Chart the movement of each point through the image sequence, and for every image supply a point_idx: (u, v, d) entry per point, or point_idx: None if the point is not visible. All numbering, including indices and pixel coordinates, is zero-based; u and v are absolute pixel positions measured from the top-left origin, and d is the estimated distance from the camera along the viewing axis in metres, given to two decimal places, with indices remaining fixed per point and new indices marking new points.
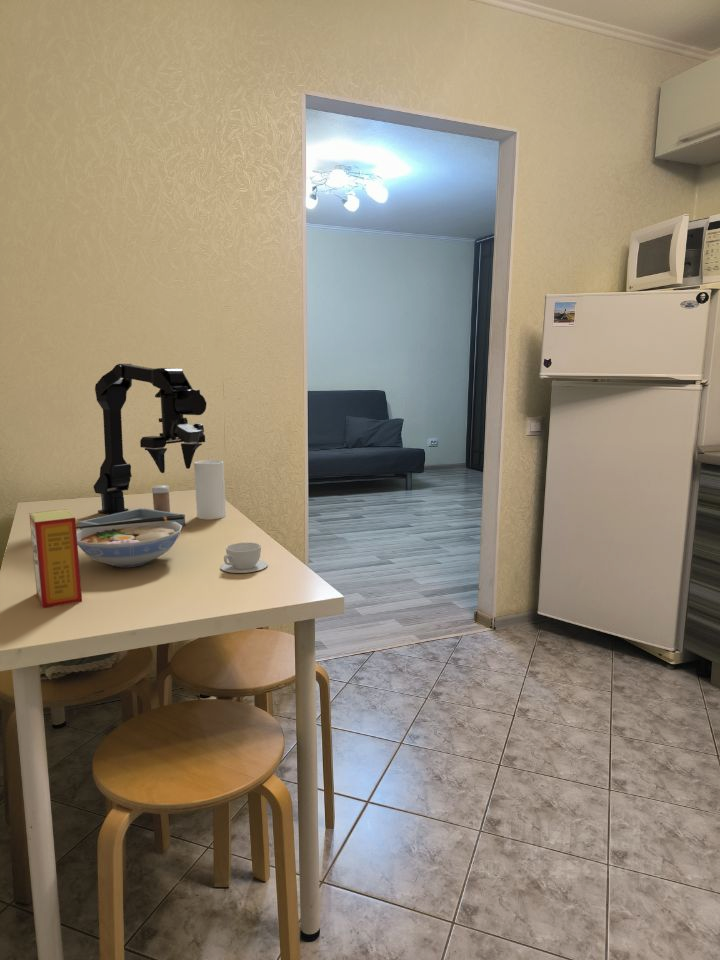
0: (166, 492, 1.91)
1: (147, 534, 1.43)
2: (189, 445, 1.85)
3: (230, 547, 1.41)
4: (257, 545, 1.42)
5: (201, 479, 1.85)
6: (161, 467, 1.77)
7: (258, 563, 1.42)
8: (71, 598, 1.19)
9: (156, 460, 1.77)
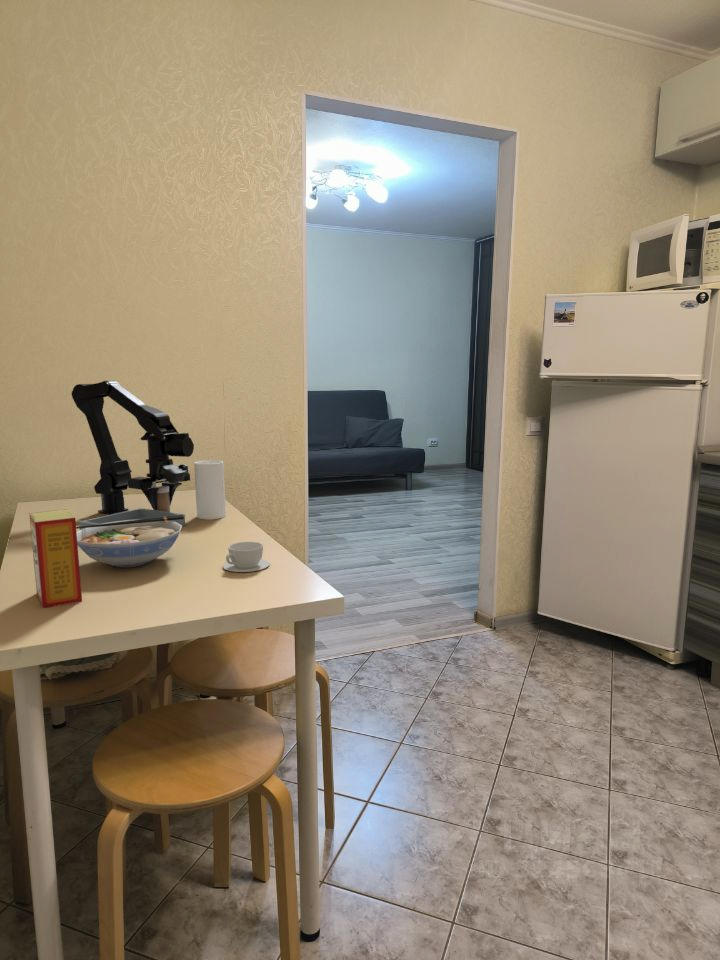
0: (166, 492, 1.91)
1: (147, 534, 1.43)
2: (169, 485, 1.94)
3: (232, 546, 1.42)
4: (259, 544, 1.42)
5: (201, 479, 1.85)
6: (154, 505, 1.90)
7: (260, 562, 1.43)
8: (71, 598, 1.19)
9: (149, 498, 1.90)
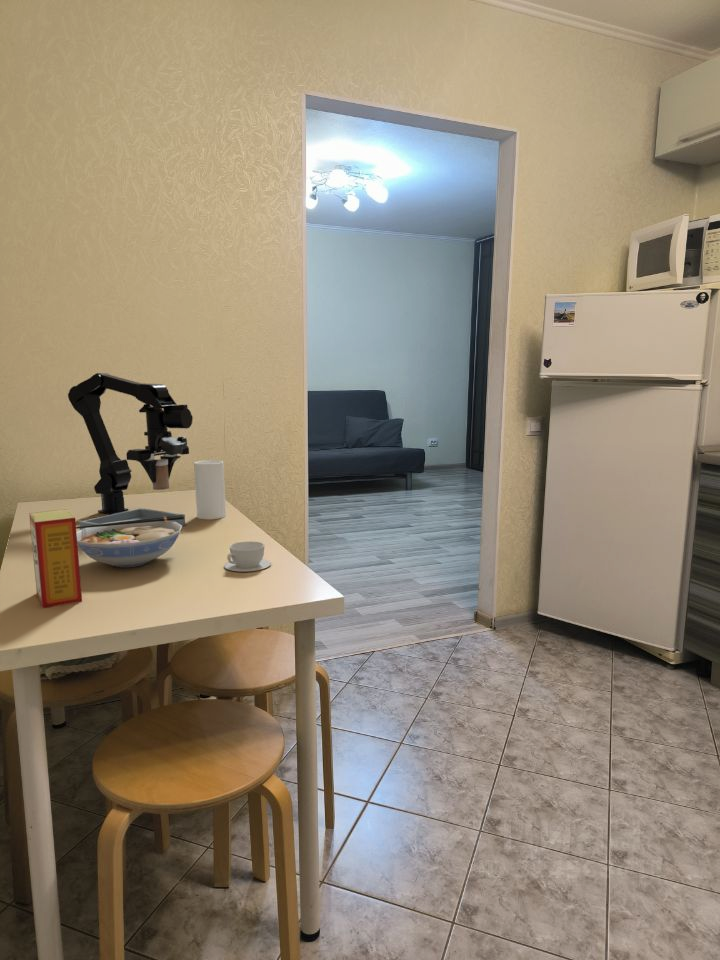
0: (165, 465, 1.90)
1: (147, 534, 1.43)
2: (168, 458, 1.93)
3: (234, 546, 1.42)
4: (261, 544, 1.43)
5: (201, 479, 1.85)
6: (152, 477, 1.89)
7: (261, 562, 1.43)
8: (71, 598, 1.19)
9: (148, 471, 1.89)
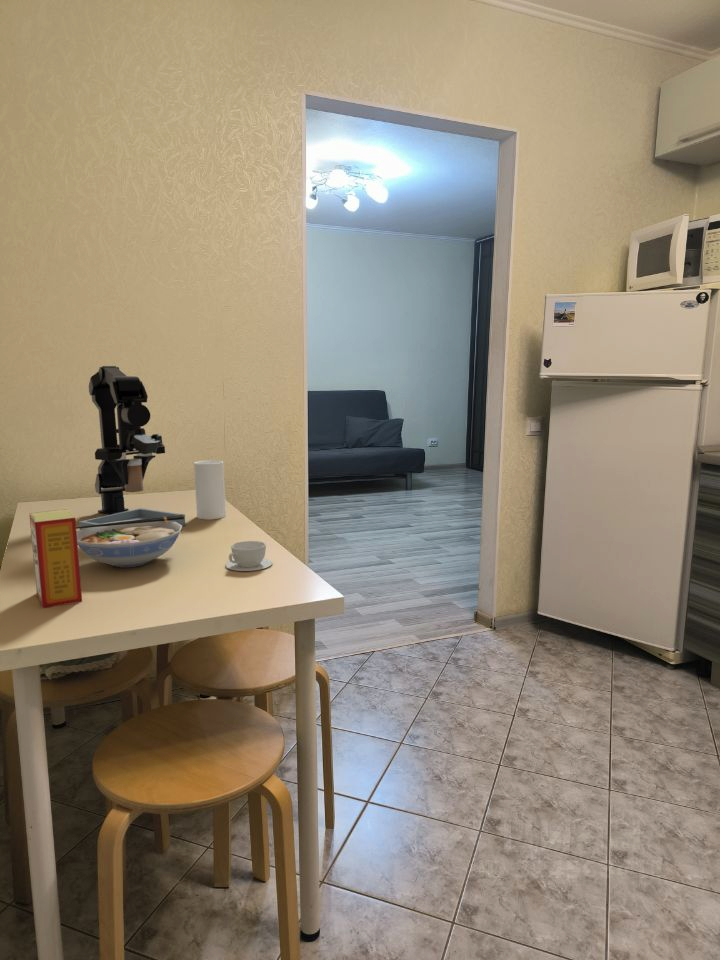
0: (138, 465, 1.73)
1: (147, 534, 1.43)
2: (142, 457, 1.77)
3: (235, 545, 1.42)
4: (262, 543, 1.43)
5: (201, 479, 1.85)
6: (124, 479, 1.72)
7: (263, 561, 1.43)
8: (71, 598, 1.19)
9: (119, 471, 1.72)
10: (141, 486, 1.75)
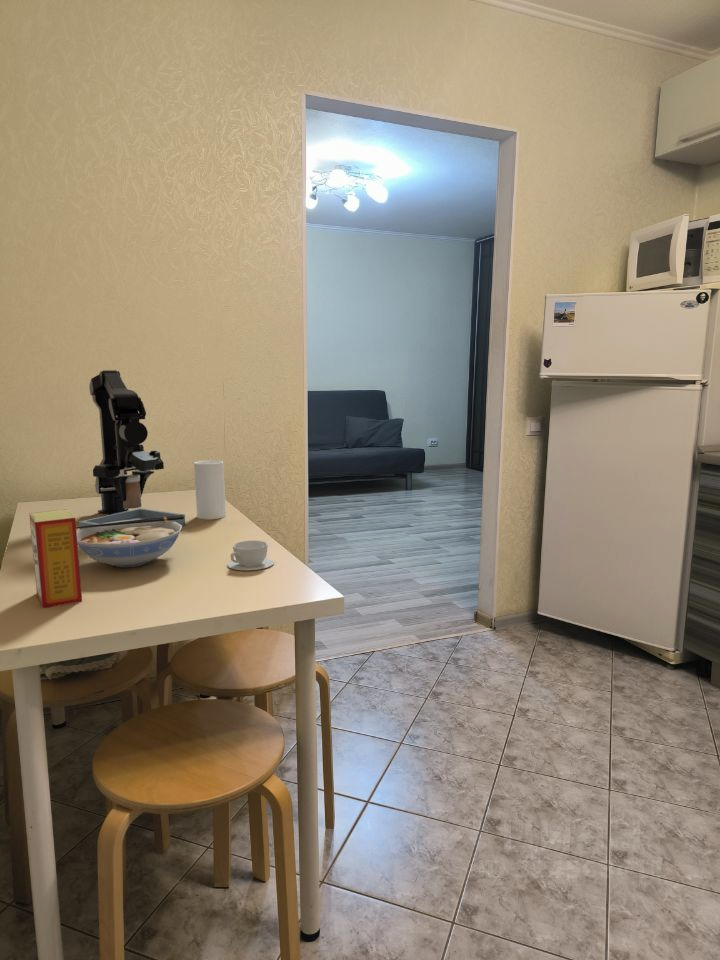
0: (136, 481, 1.73)
1: (147, 534, 1.43)
2: (140, 473, 1.76)
3: (237, 545, 1.43)
4: (264, 543, 1.43)
5: (201, 479, 1.85)
6: (122, 495, 1.72)
7: (265, 561, 1.44)
8: (71, 598, 1.19)
9: (117, 488, 1.72)
10: (139, 502, 1.75)
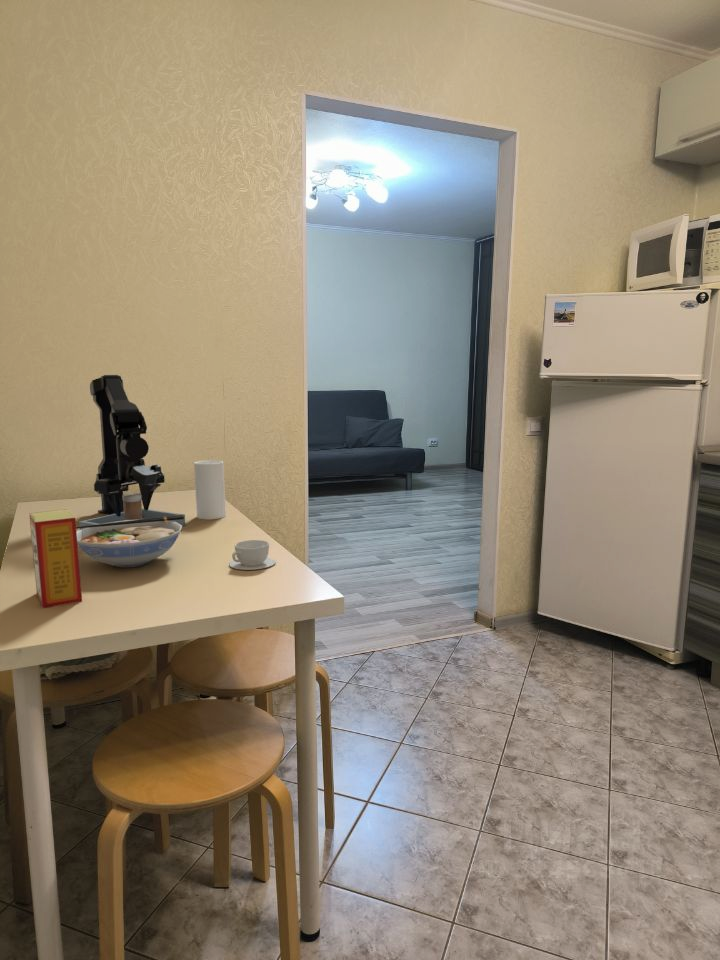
0: (138, 501, 1.74)
1: (147, 534, 1.43)
2: (147, 486, 1.79)
3: (239, 544, 1.43)
4: (265, 543, 1.44)
5: (201, 479, 1.85)
6: (117, 511, 1.71)
7: (266, 560, 1.44)
8: (71, 598, 1.19)
9: (112, 503, 1.71)
10: None
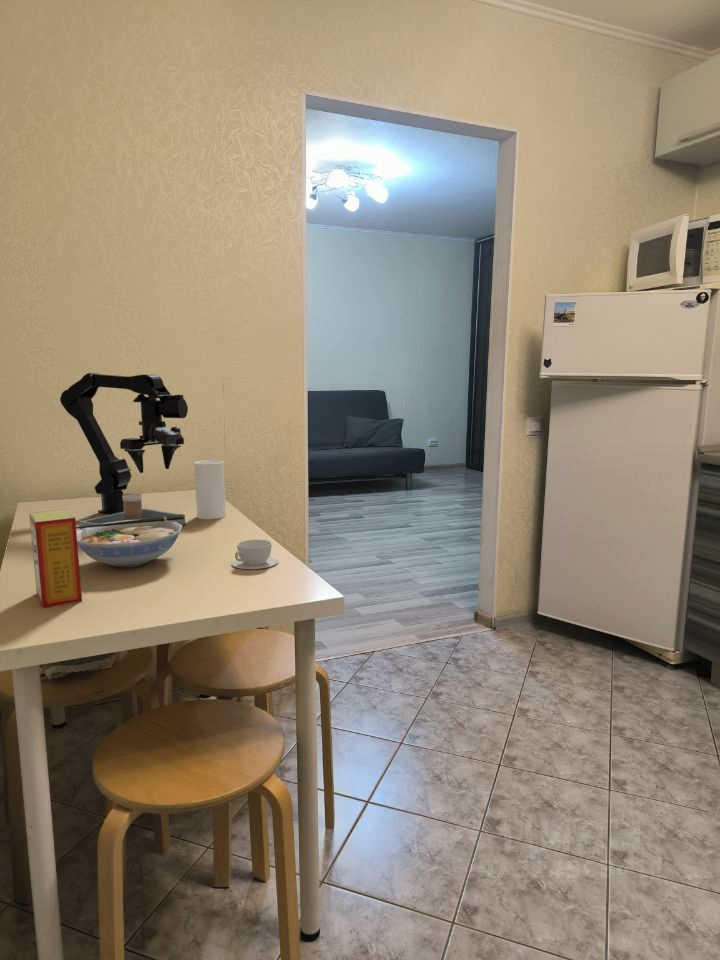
0: (138, 501, 1.74)
1: (147, 534, 1.43)
2: (168, 447, 1.96)
3: (241, 544, 1.44)
4: (268, 542, 1.44)
5: (201, 479, 1.85)
6: (140, 467, 1.89)
7: (269, 560, 1.45)
8: (71, 598, 1.19)
9: (135, 461, 1.89)
10: None
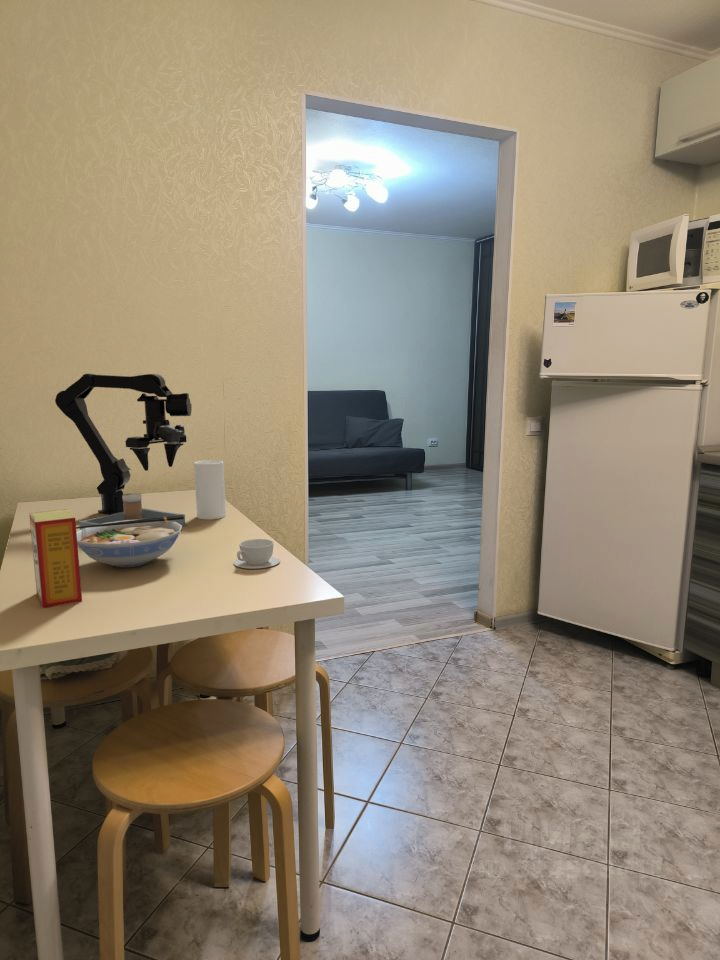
0: (138, 501, 1.74)
1: (147, 534, 1.43)
2: (171, 445, 2.00)
3: (243, 543, 1.44)
4: (270, 542, 1.45)
5: (201, 478, 1.85)
6: (145, 465, 1.92)
7: (271, 559, 1.45)
8: (71, 598, 1.19)
9: (140, 459, 1.92)
10: None
